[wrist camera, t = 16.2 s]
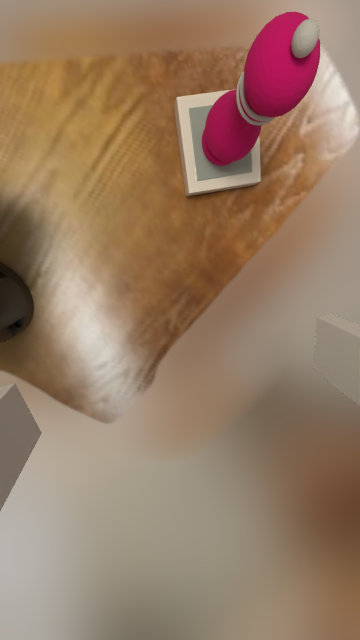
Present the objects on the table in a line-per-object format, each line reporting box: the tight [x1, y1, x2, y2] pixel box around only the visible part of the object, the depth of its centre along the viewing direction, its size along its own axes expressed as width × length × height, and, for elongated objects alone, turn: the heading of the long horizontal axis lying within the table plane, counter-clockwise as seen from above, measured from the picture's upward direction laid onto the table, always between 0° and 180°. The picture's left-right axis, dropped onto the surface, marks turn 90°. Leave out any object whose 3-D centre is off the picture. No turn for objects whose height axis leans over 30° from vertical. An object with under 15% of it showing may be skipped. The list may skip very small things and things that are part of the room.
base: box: [174, 89, 261, 196], centre depth 35 cm, size 12×12×3 cm
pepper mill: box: [202, 12, 320, 166], centre depth 25 cm, size 7×7×20 cm
